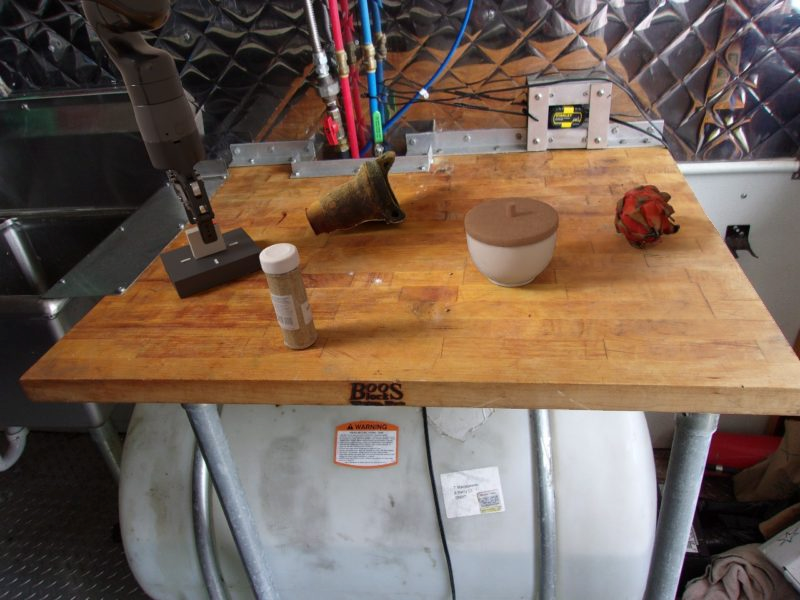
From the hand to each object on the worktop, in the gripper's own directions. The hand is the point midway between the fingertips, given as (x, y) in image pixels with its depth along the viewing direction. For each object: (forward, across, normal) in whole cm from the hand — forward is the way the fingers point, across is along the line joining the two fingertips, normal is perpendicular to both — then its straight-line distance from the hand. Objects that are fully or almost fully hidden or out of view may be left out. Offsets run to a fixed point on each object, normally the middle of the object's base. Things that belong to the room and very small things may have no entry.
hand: (203, 231), depth 92 cm
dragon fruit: (+7, +37, +56) cm, 67 cm away
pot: (+7, +2, +28) cm, 29 cm away
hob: (+7, 0, 0) cm, 7 cm away
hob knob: (+4, 0, 0) cm, 4 cm away
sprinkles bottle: (+7, +27, +4) cm, 28 cm away
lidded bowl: (+7, +32, +35) cm, 48 cm away
